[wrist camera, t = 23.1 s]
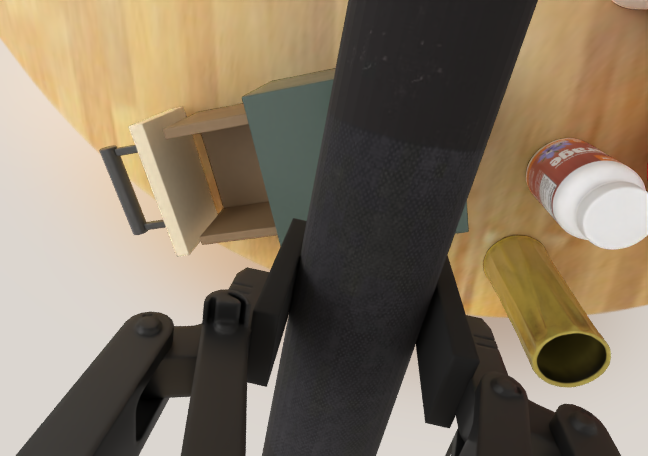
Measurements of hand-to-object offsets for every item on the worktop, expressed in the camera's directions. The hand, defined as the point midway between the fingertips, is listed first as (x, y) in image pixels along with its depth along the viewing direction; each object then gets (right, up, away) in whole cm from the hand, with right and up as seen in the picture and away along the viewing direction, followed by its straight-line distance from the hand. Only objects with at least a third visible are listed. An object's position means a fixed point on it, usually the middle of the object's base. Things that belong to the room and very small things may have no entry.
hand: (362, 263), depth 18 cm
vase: (+18, -2, +25) cm, 31 cm away
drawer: (-10, +8, +23) cm, 26 cm away
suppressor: (-1, -2, -4) cm, 5 cm away
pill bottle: (+20, +7, +21) cm, 30 cm away
